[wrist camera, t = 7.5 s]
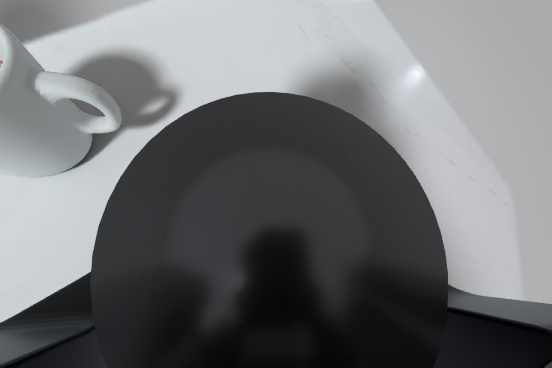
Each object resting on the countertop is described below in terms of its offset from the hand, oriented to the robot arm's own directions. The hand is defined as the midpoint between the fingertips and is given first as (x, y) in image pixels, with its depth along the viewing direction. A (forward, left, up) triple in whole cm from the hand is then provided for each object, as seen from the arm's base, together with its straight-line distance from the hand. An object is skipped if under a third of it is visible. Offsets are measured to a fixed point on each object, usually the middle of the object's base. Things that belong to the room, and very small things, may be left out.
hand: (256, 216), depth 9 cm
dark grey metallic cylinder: (-1, 0, -7) cm, 7 cm away
